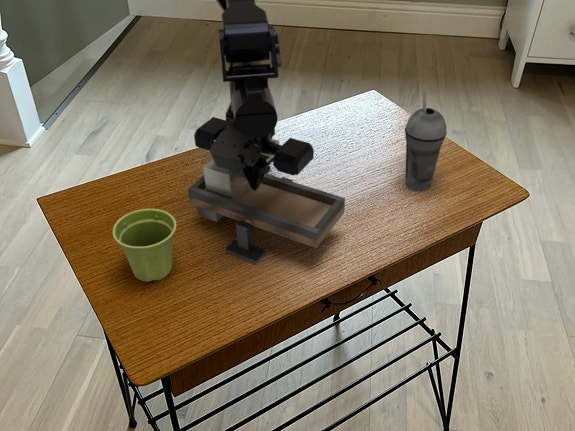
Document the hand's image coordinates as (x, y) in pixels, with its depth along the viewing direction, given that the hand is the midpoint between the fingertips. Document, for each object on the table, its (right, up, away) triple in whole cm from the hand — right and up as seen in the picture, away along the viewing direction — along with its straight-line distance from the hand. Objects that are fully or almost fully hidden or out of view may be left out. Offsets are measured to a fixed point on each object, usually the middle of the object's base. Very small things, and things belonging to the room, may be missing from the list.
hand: (255, 188), depth 100 cm
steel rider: (-4, 0, +3) cm, 5 cm away
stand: (+2, -7, +4) cm, 8 cm away
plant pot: (-16, -13, -3) cm, 21 cm away
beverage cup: (+30, +1, +14) cm, 33 cm away
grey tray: (+2, -5, +3) cm, 7 cm away
